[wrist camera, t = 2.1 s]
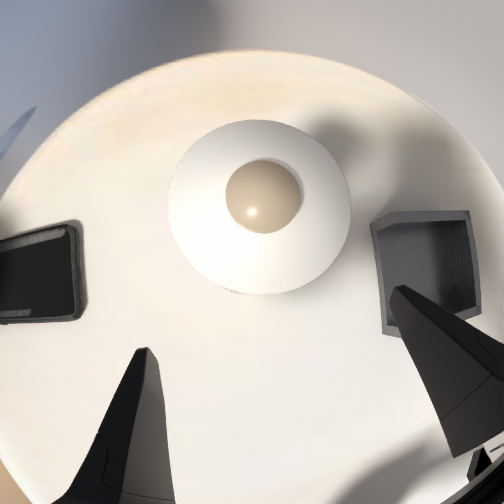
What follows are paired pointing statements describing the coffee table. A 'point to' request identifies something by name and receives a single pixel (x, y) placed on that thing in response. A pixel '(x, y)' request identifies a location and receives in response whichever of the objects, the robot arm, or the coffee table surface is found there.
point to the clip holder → (427, 261)
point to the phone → (41, 277)
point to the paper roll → (259, 207)
